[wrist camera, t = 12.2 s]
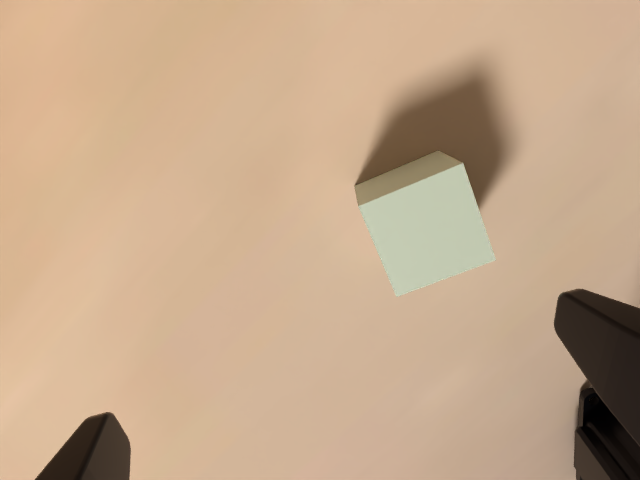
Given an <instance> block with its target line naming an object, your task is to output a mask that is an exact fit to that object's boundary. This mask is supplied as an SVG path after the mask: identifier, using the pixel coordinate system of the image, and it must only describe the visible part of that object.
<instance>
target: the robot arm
mask: <svg viewBox="0 0 640 480" xmlns="http://www.w3.org/2000/svg"><path fill="white" fill-rule="evenodd" d="M554 328H555V331H556V333H557V335H558V337H559V338H560V340H561V341H562V343H563V344H564V346H565V347H566V349H567V350H568V352H569V353H570V354H571V356H572V357H573V359H574V360H575V362H576V363H577V365H578V366H579V368H580V369H581V371H582V372H583V374H584V375H585V377H586V378H587V380H588V381H589V383H590V384H591V385H592V387H593V388H587V389H585V390H583V391H582V392H581V394H580V398H579V421H578V427H577V429H576V431H575V449H574V467H575V469H576V480H640V308H637V307H634V306H631V305H628V304H625V303H622V302H619V301H616V300H614V299H611V298H608V297H605V296H602V295H599V294H596V293H593V292H590V291H587V290H584V289H575V290H571V291H567V292H563V293H561V294H560V295H559V297H558V300H557V307H556V313H555V319H554ZM592 397H594V398H593V399H591V400H589V399H590V398H592ZM130 455H131V448H130V442H129V439H128V437H127V435H126V434H125V432H124V430H123V429H122V427H121V425H120V424H119V422H118V420H117V419H116V417H115V416H114V414H112V413H110V412H106V413H102V414H98V415H94V416H91V417H88V418H87V419H85V420H84V421H83V422H82V424H81V425H80V426H79V427H78V428H77V430H76V431H75V432H74V433H73V434H72V436H71V437H70V438H69V439H68V440H67V442H66V443H65V444H64V445H63V446H62V448H61V449H60V450H59V451H58V452H57V454H56V455H55V456H54V457H53V458H52V460H51V461H50V462H49V463H48V464H47V466H46V467H45V468H44V469H43V470H42V472H41V473H40V474H39V475H38V476H37V478H36V479H35V480H129V477H130Z"/></svg>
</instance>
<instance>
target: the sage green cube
mask: <svg viewBox="0 0 640 480" xmlns="http://www.w3.org/2000/svg"><path fill="white" fill-rule="evenodd" d="M354 187H355V192H356V197H357V202H358V207H359V209H360V211H361V214H362V216H363V219H364V221H365V223H366V226H367V228H368V230H369V233H370V235H371V238H372V240H373V242H374V245H375V247H376V249H377V252H378V254H379V256H380V259H381V261H382V264H383V266H384V268H385V271H386V273H387V275H388V278H389V280H390V282H391V285H392V287H393V290H394V292H395V294H396V297H398V296H401V295H403V294H406V293H409V292H412V291H414V290H417V289H420V288H422V287H425V286H428V285H430V284H433V283H436V282H438V281H441V280H444V279H447V278H449V277H452V276H455V275H457V274H460V273H463V272H465V271H468V270H471V269H473V268H476V267H479V266H482V265H484V264H487V263H490V262H492V261H495V260H496V259H495V256H494V253H493V250H492V247H491V244H490V241H489V238H488V235H487V232H486V229H485V226H484V223H483V220H482V217H481V214H480V211H479V208H478V205H477V202H476V200H475V197H474V194H473V191H472V188H471V185H470V182H469V179H468V176H467V173H466V170H465V167H464V164H463V163H462V162H460V161H458V160H456V159H454V158H452V157H450V156H448V155H446V154H444V153H443V152H441V151H439V150H438V151H436V152H433V153H431V154H429V155H426V156H424V157H421V158H419V159H417V160H414V161H412V162H410V163H407V164H405V165H403V166H400V167H398V168H395V169H393V170H391V171H388V172H386V173H384V174H381V175H379V176H377V177H374V178H372V179H369V180H367V181H365V182H362V183H360V184H358V185H355V186H354Z"/></svg>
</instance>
